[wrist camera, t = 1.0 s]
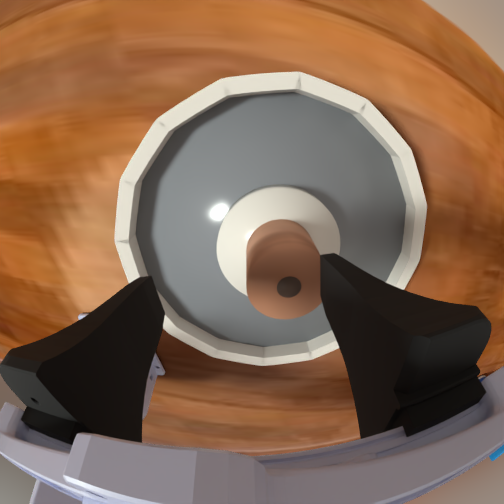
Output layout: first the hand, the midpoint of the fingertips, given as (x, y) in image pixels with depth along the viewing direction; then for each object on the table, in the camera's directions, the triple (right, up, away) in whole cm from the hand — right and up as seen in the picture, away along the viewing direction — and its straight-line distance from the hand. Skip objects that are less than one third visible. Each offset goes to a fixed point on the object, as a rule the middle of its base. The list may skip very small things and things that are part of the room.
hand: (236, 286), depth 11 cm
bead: (+3, +1, +8) cm, 9 cm away
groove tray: (+3, +3, +10) cm, 11 cm away
